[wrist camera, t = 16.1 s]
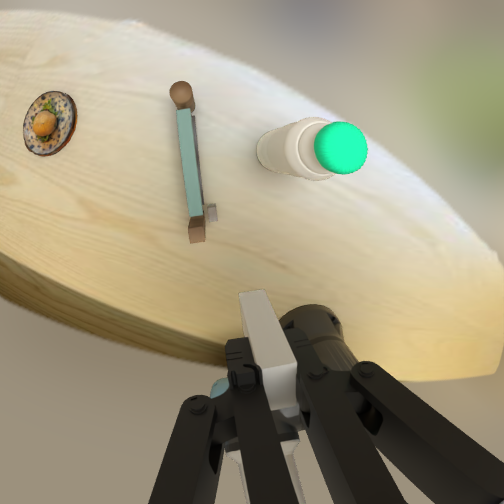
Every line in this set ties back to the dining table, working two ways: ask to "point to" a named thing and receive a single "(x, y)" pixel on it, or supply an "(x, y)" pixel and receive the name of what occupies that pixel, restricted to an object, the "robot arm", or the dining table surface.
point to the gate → (189, 162)
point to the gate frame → (185, 100)
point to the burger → (49, 123)
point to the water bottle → (313, 149)
